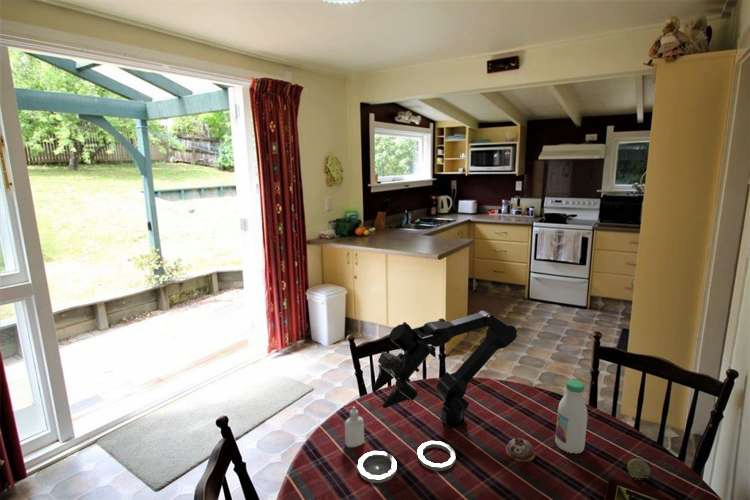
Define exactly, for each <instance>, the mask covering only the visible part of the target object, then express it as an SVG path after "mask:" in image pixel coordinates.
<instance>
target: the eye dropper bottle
mask: <svg viewBox="0 0 750 500" xmlns="http://www.w3.org/2000/svg"><path fill="white" fill-rule="evenodd" d="M344 444H345V446H346V447H347V448H357V447H359V446H362V445H364V444H365V421H364V419H363V417H362V416H359V410H358V409H356V406H352V409H351V410H350V411H349V417H348V418H347V419H346V420H345V421H344Z"/></svg>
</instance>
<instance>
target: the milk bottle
mask: <svg viewBox="0 0 750 500" xmlns="http://www.w3.org/2000/svg"><path fill="white" fill-rule="evenodd" d="M565 390H566V391H565V394H564V396H562V398H561V400H560V402H559V404H558V407H557V408H558V409H557V414H556V416H557V417H556V427H555V440H554V441H555V444H556V446H557V447H558V449H560V450H561V451H563V450H564V451H563V452H565V451H566V453H568V452H569V454H572V453H575V454H574V455H578V454H581V453H582V452H583V451H584V450H585V445H586V436H587V435H586V434H587V425H588V407H587V405H586V403H585V402H586V401H585V400H584V396H583V395H584V393H585V384H584V383H583V382H581V381H579V380H575V379H569V380H566V383H565ZM577 453H578V454H577Z"/></svg>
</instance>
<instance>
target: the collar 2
mask: <svg viewBox="0 0 750 500" xmlns="http://www.w3.org/2000/svg"><path fill="white" fill-rule="evenodd" d="M431 448H438V449H441V450H444V451H446V452H447V453H448V455H450V458H449V459H448V460H447V461H445V462H443V463H434V462H431V461H429V460H427V459H426V458H425V456H424V455H423V453H425V451H426V450H428V449H431ZM417 460H418V462H419V463H420V464H421V465H422V466H423V467H424V468H427V469H429V470H431V471H438V472H440V471H441V472H443V471H446V470H449V469H452V467H454V465H455V463H456V460H457V459H456V452H455V449H453V448H452V447H451V445H450V444H448V443H445V442H443V441H438V440H437V441H436V440H429V441H426V442H424V443H422V444H421V445H420V446H419V447H418V448H417Z"/></svg>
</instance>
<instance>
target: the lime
mask: <svg viewBox="0 0 750 500" xmlns="http://www.w3.org/2000/svg"><path fill="white" fill-rule="evenodd" d="M627 471H628V474H629V475H630V477H632V478H633V477H636V478H647V479H646V480H648V479H649V478H650V476H651V469H650V467H649V465H648V464H647V463H646V461H644V460H643V459H641V458H637V457H636V458H631V459H629V461H628V463H627Z"/></svg>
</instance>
